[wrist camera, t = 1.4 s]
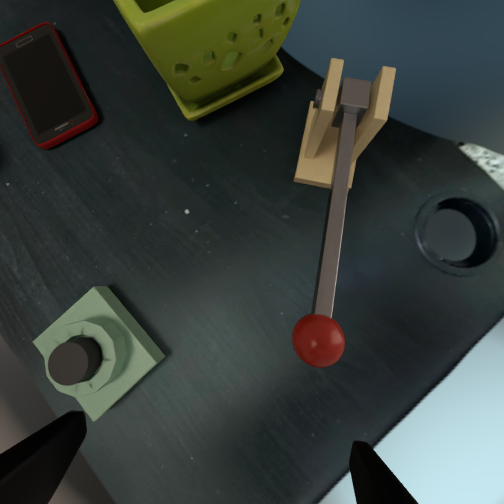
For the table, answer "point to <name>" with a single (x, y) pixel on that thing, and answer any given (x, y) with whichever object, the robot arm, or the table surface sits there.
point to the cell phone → (46, 86)
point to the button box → (102, 349)
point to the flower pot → (211, 46)
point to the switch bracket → (325, 137)
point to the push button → (74, 361)
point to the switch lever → (332, 235)
